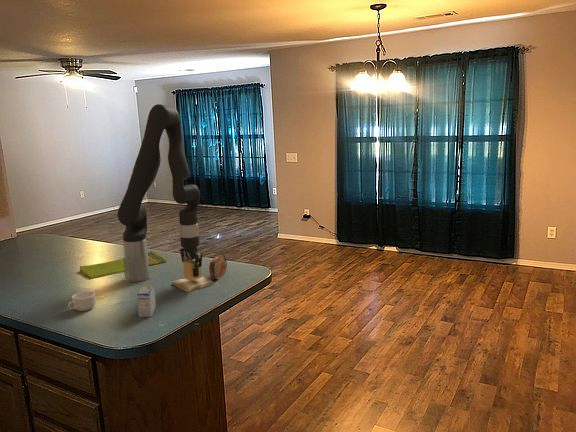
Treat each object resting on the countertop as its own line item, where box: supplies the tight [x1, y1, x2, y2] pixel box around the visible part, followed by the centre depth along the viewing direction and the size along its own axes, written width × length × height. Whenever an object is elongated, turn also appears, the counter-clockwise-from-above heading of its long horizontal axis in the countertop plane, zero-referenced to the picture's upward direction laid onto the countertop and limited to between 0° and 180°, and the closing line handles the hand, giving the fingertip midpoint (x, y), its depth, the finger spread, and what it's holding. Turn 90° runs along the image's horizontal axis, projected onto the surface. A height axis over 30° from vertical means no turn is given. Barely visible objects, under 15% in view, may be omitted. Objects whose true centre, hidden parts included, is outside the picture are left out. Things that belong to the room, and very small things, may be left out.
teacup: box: [67, 290, 96, 312], centre depth 164 cm, size 10×8×5 cm
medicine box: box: [136, 285, 157, 318], centre depth 160 cm, size 8×4×9 cm, turn 5°
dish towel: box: [79, 250, 167, 280], centre depth 213 cm, size 15×36×3 cm, turn 130°
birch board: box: [171, 275, 214, 293], centre depth 188 cm, size 12×12×1 cm
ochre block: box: [182, 259, 202, 281], centre depth 187 cm, size 5×5×7 cm
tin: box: [208, 254, 227, 280], centre depth 197 cm, size 15×3×8 cm, turn 168°
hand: (192, 274), depth 188 cm, fingers closed on ochre block, 5 cm apart
